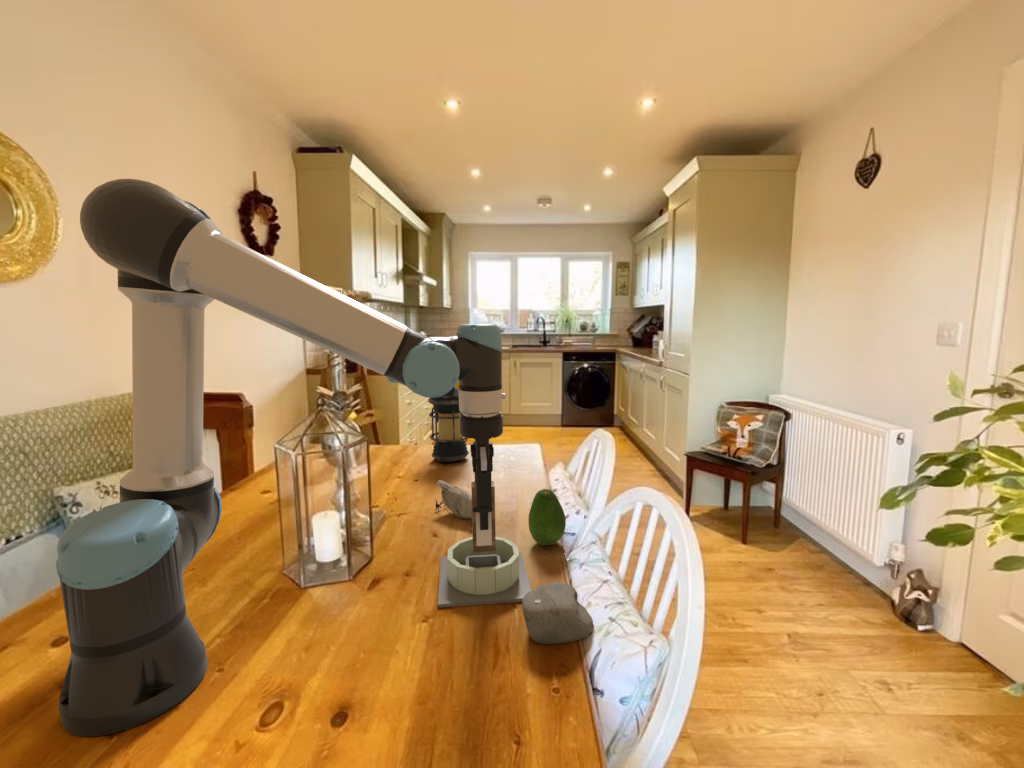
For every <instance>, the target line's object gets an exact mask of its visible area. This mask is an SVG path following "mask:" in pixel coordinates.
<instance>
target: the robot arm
mask: <svg viewBox="0 0 1024 768" xmlns="http://www.w3.org/2000/svg"><path fill="white" fill-rule="evenodd" d="M79 224H80V229H81V232H82V234H83V238H84V239H85V242H86V243H87V245H88V246H89V248H90V249H91V250H92V251H93V252H94V254H96V256H97V257H98V258H100V260H102V261H104V263H106V264H108V265H109V266H111V267H113V268H115V269H117V290H118V291H119V292H120V293H122V294H123V295H124V296H125V297H126V298H127V299H129V301H130V302H131V338H132V341H131V345H132V346H131V347H132V348H131V349H132V350H131V351H132V352H131V353H132V359H131V360H132V361H131V362H132V363H131V365H132V367H131V368H132V371H131V372H132V379H131V380H132V468H131V469H130V470H129V471H128V472H127V473H126V474H124V475H123V476H122V477H121V478H120V479H119V502H117V503H113V504H110V505H106V506H103V507H102V508H101V510H97V511H91V512H89V513H87V514H85V515H83V516H81V517H79V518H78V519H76V520H74V522H73V523H71V524H70V525H68V526H67V528H66V529H65V530H64V531H63V532H62V533H61V535H60V536H59V539H58V541H57V547H56V550H57V551H56V552H57V560H56V562H55V563H56V572H57V576H58V578H59V584H60V589H61V590H60V591H61V596H62V601H63V602H62V603H63V610H64V615H65V621H66V627H67V635H68V640H69V641H68V642H69V646H70V647H69V648H70V657H69V660H68V665H67V668H66V672H65V674H64V678H63V682H62V686H61V690H60V694H59V697H58V701H57V702H58V703H57V705H58V706H57V708H58V714H59V720H60V724H61V727H62V728H63V730H65V731H66V732H68V733H69V734H72V735H75V736H80V737H97V736H98V737H99V736H106V735H110V734H111V735H112V734H115V733H118V732H119V733H120V732H122V731H125V730H129V729H131V728H134V727H137V726H140V725H142V724H145V723H146V722H149V721H151V720H152V719H154V718H157V717H159V716H160V715H162V714H165V712H167V711H168V710H170V709H172V708H174V707H175V706H176V705H178V704H179V703H180V702H182V701H183V700H184V699H185V698H187V697H188V696H189V695H190V694H191V693H192V692H193V691H194V690H195V689H196V688H197V686H199V684H200V683H201V681H202V680H203V678H204V676H205V675H206V672H207V668H208V659H207V658H208V657H207V649H206V645H205V644H204V642H203V641H202V639H201V638H200V636H199V634H198V632H197V630H196V629H195V627H194V625H193V624H192V621H190V619H189V617H188V615H187V609H186V599H185V589H184V581H183V580H184V578H183V577H184V576H183V575H184V571H186V569H187V568H188V566H190V563H191V562H192V561H193V559H195V557H196V555H198V553H199V552H200V550H201V549H202V548H203V546H204V545H205V544H206V543H207V542H208V541H209V540H210V539H211V538H212V536H213V535H214V533H215V532H216V530H217V526H218V525H219V524H220V519H221V516H222V511H223V510H222V509H223V506H222V505H223V503H222V498H221V495H220V493H219V491H218V490H217V488H216V487H215V485H214V483H215V482H214V481H215V473H214V471H213V469H212V468H210V467H209V466H208V465H206V464H205V463H204V461H203V459H204V457H203V456H204V454H203V453H204V394H205V393H204V391H205V390H204V389H205V388H204V383H205V382H204V379H205V377H204V375H205V370H204V369H205V367H204V366H205V309H206V308H207V306H209V304H211V303H212V302H213V301H215V300H216V301H218V302H221V303H222V304H225V305H228V306H230V307H231V308H234V309H236V310H238V311H241V312H243V313H245V314H247V315H249V316H252V317H254V318H256V319H258V320H260V321H263V322H265V323H266V324H270V325H271V326H273V327H275V328H277V329H278V328H279V329H280V330H282V331H285V332H286V333H288V334H289V333H290V334H291V335H294V336H296V337H298V338H300V339H302V340H305V341H307V342H309V343H312V344H314V345H315V346H318V347H320V348H322V349H325V350H326V351H328V352H331V353H333V354H336V355H338V356H340V357H342V358H345V359H347V360H348V361H350V362H354V363H355V364H357V365H360V366H362V367H364V368H367V369H369V370H372V371H373V372H375V373H377V374H380V375H382V376H385V377H387V378H386V379H387V381H389V383H392V384H401V385H404V386H405V387H407V388H408V389H409V390H410V391H411V392H412V393H414V394H416V395H419V396H421V397H423V398H428V399H429V398H435V397H440V396H443V395H445V394H447V393H448V392H449V391H451V390H452V388H453V387H455V386H456V384H457V383H458V389H459V411H460V434H461V436H463V437H462V438H468V439H469V440H470V439H473V442H472V443H470V444H469V445H470V447H469V448H470V457H471V464H472V465H471V466H472V472H473V473H474V482H476V500H477V507H476V508H472V511H473V512H476V544H477V546H487V545H492V520H491V512H492V494H491V481H492V472H493V470H494V465H493V463H494V462H493V458H494V455H495V453H494V451H495V450H494V446H493V442H490V440H491V439H494V438H498V437H500V436H501V435H502V434H503V433H504V418H503V417H504V415H503V414H502V413H501V412H502V411H503V399H506V396H507V395H506V393H504V392H503V389H502V388H503V353H504V352H503V350H504V349H503V345H502V343H503V342H502V332H501V328H500V327H499V325H497V324H495V323H469V324H468V323H464V324H463V323H461V324H459V325H458V326H457V330H456V331H457V332H456V334H455V335H450V336H427V335H425V334H423V333H421V332H419V331H417V330H415V329H413V328H410V327H408V326H406V325H405V324H403V323H401V322H399V321H397V320H394V319H393V318H391V317H389V316H387V315H385V314H383V313H381V312H379V311H377V310H375V309H373V308H370V307H369V306H367V305H365V304H363V303H360V302H359V301H356V300H355V299H353V298H351V297H348V296H346V295H344V294H342V293H340V292H339V291H337V290H334V289H332V288H330V287H329V286H326V285H324V284H322V283H320V282H318V281H316V280H314V279H312V278H311V277H308V276H307V275H304V274H302V273H300V272H298V271H296V270H294V269H292V268H290V267H288V266H286V265H284V264H282V263H280V262H278V261H276V260H274V259H272V258H270V257H268V256H266V255H264V254H262V253H260V252H257V251H256V250H254V249H252V248H250V247H248V246H246V245H244V244H242V243H240V242H238V241H237V240H234V239H232V238H230V237H228V236H225V235H224V234H222V231H221V229H220V228H219V227H218V224H216V221H214V220H213V219H212V218H211V216H209V215H208V214H207V213H206V212H205V211H204V210H203V209H201V208H200V207H197V206H196V205H194V204H193V203H191V202H189V201H186V200H184V199H182V198H180V197H179V196H177V195H176V194H174V193H172V192H171V191H169V190H168V189H166V188H164V187H162V186H160V185H158V184H155V183H152V182H150V181H147V180H141V179H135V178H118V179H113V180H109V181H107V182H104V183H102V184H100V185H98V186H96V187H95V188H94V189H92V191H91V192H90V193H89V194H88V195H87V196H86V197H85V199H84V201H82V204H81V209H80V213H79ZM461 412H462V414H461Z"/></svg>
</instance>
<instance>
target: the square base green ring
mask: <svg viewBox="0 0 1024 768" xmlns="http://www.w3.org/2000/svg"><path fill="white" fill-rule="evenodd" d="M495 539H496V551H487V552H473V536H471V537H467V538H464V539H461V540H458V541H456V542H455V543H453V544H452V545H451V546H450V547H449V548H447V556H440V563H439V578H438V579H439V581H438V590H437V591H438V592H437V593H438V594H437V608H450V607H452V608H453V607H454V608H455V607H465V606H466V607H467V606H478V605H481V606H483V605H493V604H497V605H498V604H508V603H509V604H510V603H522V600H523V597H524V596H525V595H526V594H527V593H528V592H530V591H532V587H531V584H530V580H529V576H528V572H527V568H526V565H525V561H524V558H523V553H522V552H521V551H519V548H518V545H517V544H515V543H514V542H512V541H511V540H509V539H508V538H503V537H500V536H499V537H498V536H495Z"/></svg>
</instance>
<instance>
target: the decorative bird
mask: <svg viewBox="0 0 1024 768" xmlns="http://www.w3.org/2000/svg"><path fill="white" fill-rule="evenodd" d="M436 485H438V487H440V488H441V492H440V493H441V500H442V501H441V502H440V503H438V500H437V499H436V498H435V499H434V500H435V510H434V511H435V512H436V511H437V509H438V511H437V512H439V511H440V509H442V506H441V505H443V504H444V506H443V508H447V509H448V510H449V511H450V512H451V513H452V514H453V515H455V516H456V517H458V518H464V519H468V520H469V519H472V494H471V493H469V492H468V491H466V490H464V489H462V488H459V486H458V487H457V486H453V485H452V484H450V482H447V481H445V480H441V479H439V480H438V481H437V482H436Z"/></svg>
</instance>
